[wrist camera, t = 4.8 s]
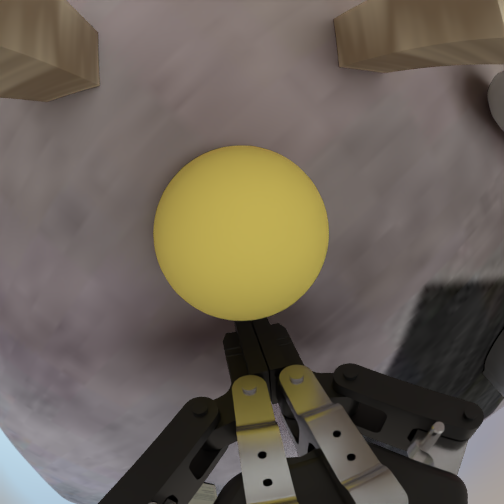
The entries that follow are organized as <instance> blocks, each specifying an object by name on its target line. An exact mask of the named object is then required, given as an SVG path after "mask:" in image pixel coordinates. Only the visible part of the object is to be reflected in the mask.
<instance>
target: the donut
mask: <svg viewBox="0 0 504 504" xmlns="http://www.w3.org/2000/svg"><path fill="white" fill-rule="evenodd" d="M488 103H489V107H490V111H491V114H492V116H493V118H494V119H495V121H496V122H497V124H498V125H499V127H500V128H501V129H502V130H503V131H504V71H502V72H500V73H498V74H497V75H496V76H495V77H494V79H493V80H492V82H491V84H490V86H489V89H488Z"/></svg>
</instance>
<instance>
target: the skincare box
mask: <svg viewBox="0 0 504 504" xmlns="http://www.w3.org/2000/svg"><path fill="white" fill-rule="evenodd" d="M216 498H217V493H216V488H215V485H210V484H205V483H203V484H202V486H201V487H200V488H199V490H198V491H197V492H196V494H195V495H194V496H193V498H192V499H191V501H190V502H189V503H188V504H213V503H214V501H215V500H216Z"/></svg>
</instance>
